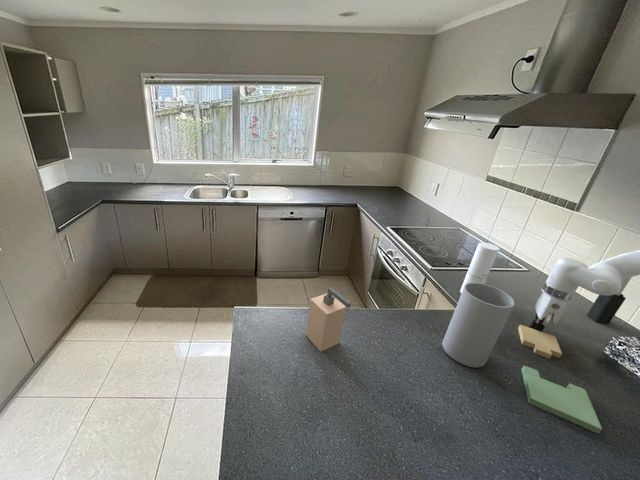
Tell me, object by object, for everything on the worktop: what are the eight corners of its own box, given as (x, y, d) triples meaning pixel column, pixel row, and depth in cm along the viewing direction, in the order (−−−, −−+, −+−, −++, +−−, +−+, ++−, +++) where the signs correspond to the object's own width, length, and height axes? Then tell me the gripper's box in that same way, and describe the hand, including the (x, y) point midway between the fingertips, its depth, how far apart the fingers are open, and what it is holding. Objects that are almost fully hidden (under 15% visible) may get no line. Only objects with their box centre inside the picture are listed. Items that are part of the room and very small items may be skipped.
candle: (596, 322, 114) (630, 270, 104) (584, 314, 119) (616, 263, 109) (610, 324, 113) (646, 272, 104) (598, 316, 118) (631, 265, 108)
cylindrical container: (482, 299, 126) (503, 250, 116) (466, 298, 126) (486, 249, 116) (471, 289, 132) (490, 242, 123) (456, 289, 132) (474, 241, 123)
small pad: (552, 340, 104) (555, 336, 103) (561, 363, 94) (564, 359, 94) (517, 328, 109) (520, 324, 108) (522, 349, 100) (525, 345, 99)
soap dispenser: (305, 334, 102) (312, 284, 93) (323, 327, 106) (331, 278, 97) (328, 361, 92) (339, 307, 83) (348, 352, 95) (359, 299, 87)
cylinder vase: (482, 375, 89) (513, 313, 79) (438, 353, 96) (461, 294, 87) (486, 353, 97) (515, 294, 88) (445, 334, 105) (467, 278, 95)
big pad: (582, 393, 84) (585, 389, 83) (598, 434, 74) (602, 429, 73) (521, 369, 91) (523, 365, 91) (528, 403, 81) (531, 398, 80)
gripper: (578, 306, 93) (552, 347, 100) (566, 285, 104) (544, 323, 111) (547, 297, 97) (525, 337, 104) (539, 278, 108) (519, 315, 115)
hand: (535, 330), depth 107 cm, fingers closed
